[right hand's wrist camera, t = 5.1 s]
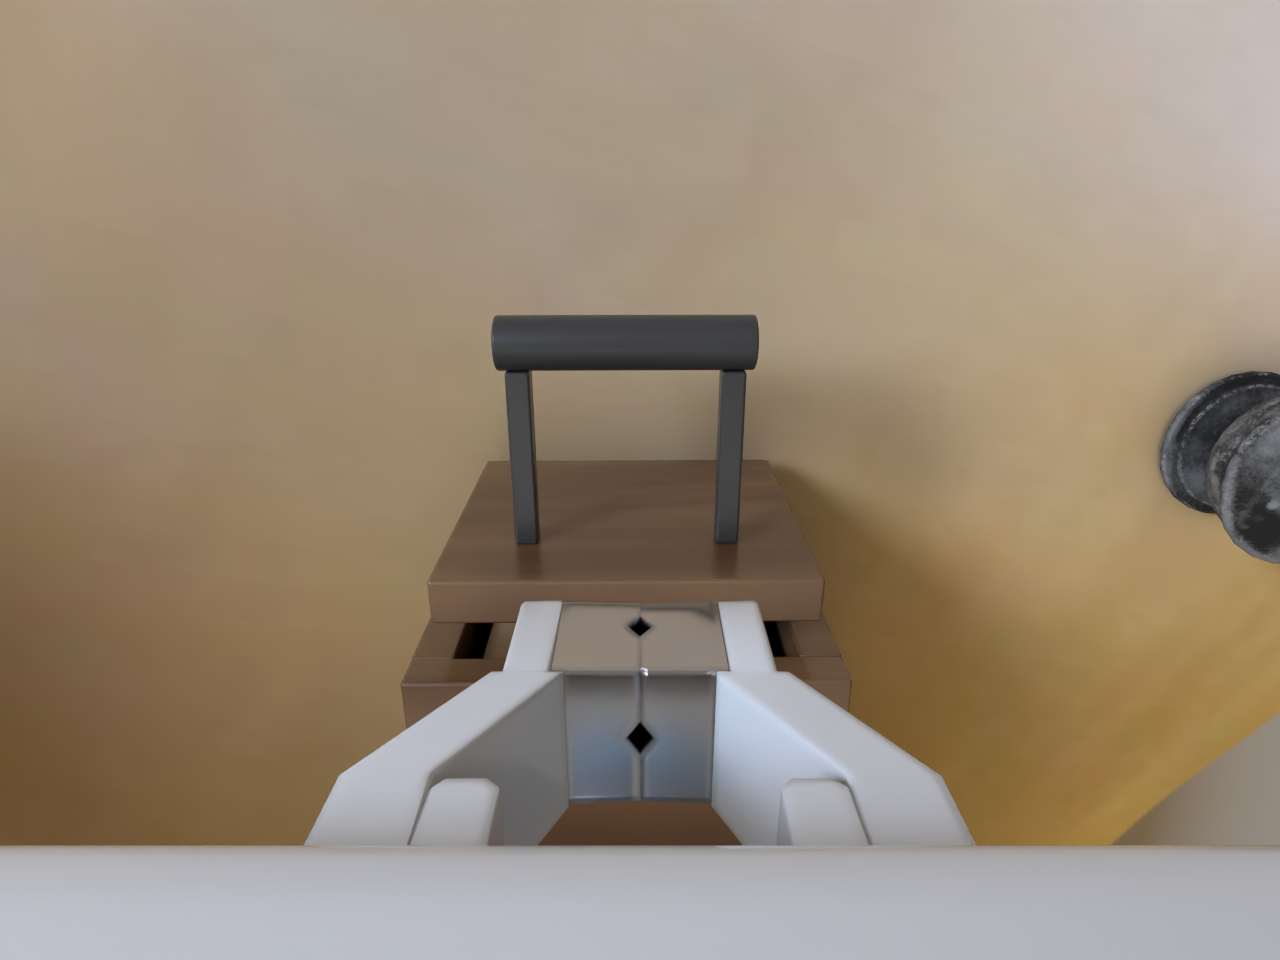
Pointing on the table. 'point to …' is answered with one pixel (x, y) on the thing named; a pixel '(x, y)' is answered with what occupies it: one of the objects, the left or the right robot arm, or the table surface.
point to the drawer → (623, 493)
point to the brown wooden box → (457, 663)
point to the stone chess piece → (1231, 459)
